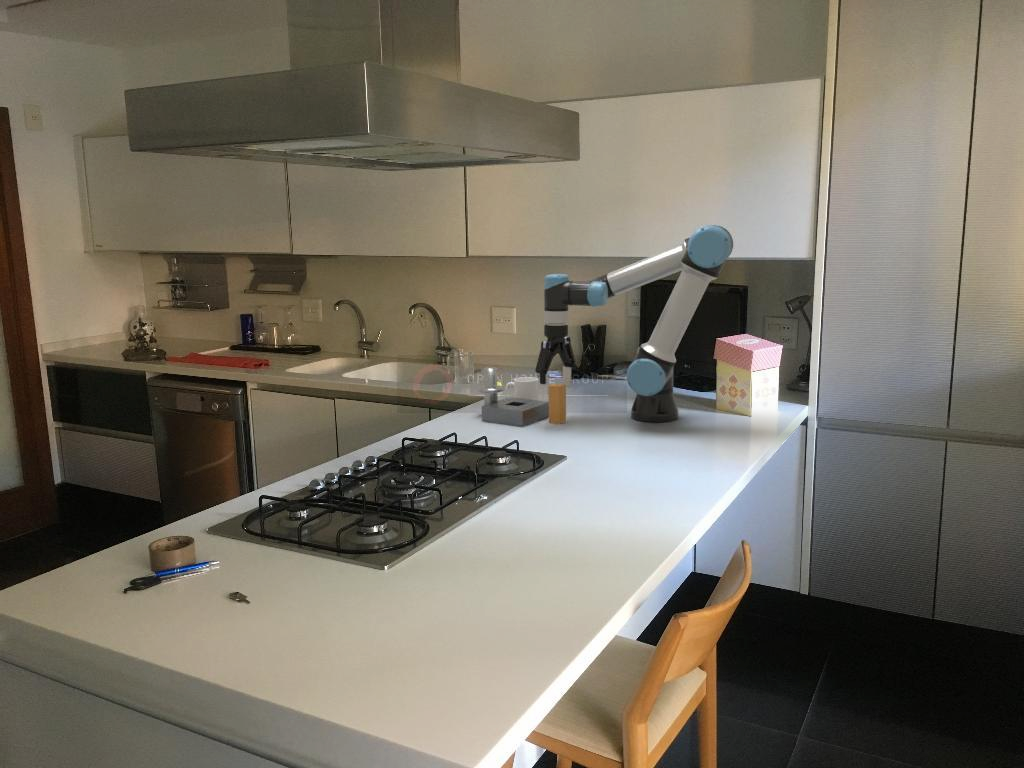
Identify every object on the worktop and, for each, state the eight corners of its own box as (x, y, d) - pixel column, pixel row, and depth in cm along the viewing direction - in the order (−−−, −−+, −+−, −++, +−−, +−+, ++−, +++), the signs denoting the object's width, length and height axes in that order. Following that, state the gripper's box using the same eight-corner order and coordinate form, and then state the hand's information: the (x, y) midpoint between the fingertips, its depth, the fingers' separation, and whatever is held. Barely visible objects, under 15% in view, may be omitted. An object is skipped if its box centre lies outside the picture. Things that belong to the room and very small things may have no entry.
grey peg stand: (549, 416, 274) (549, 368, 271) (522, 426, 262) (521, 376, 259) (495, 409, 287) (494, 363, 284) (466, 418, 274) (465, 370, 271)
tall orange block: (566, 421, 267) (565, 384, 265) (559, 424, 264) (559, 386, 262) (555, 420, 270) (555, 383, 268) (548, 422, 267) (548, 385, 264)
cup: (534, 411, 283) (533, 381, 281) (501, 409, 287) (500, 380, 285) (541, 406, 291) (541, 377, 289) (509, 404, 295) (509, 376, 293)
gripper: (566, 319, 273) (566, 382, 277) (524, 327, 253) (524, 395, 257) (586, 320, 269) (585, 385, 273) (544, 329, 249) (544, 398, 253)
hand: (555, 390), depth 265 cm, fingers open, 13 cm apart
